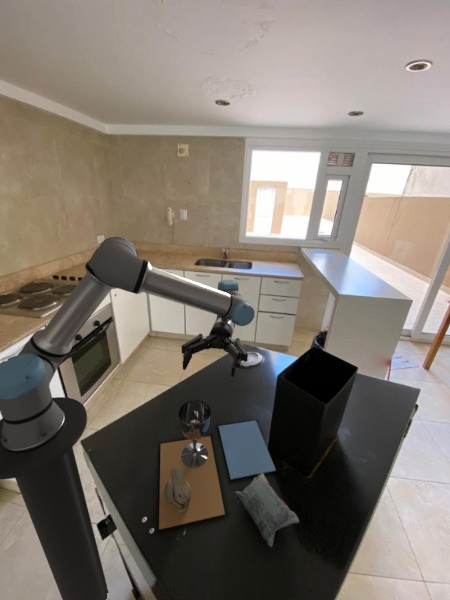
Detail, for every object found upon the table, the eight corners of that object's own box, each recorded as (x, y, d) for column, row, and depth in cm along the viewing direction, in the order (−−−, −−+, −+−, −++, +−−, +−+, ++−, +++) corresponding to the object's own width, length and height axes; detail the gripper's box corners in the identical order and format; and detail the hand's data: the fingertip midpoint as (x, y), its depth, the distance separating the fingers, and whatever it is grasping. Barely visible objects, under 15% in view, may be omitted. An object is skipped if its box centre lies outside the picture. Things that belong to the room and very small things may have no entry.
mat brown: (160, 444, 70) (160, 443, 70) (210, 436, 73) (210, 435, 73) (159, 529, 52) (158, 528, 52) (224, 514, 55) (224, 513, 55)
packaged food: (261, 478, 63) (263, 464, 61) (298, 526, 54) (301, 512, 52) (233, 498, 58) (234, 484, 57) (268, 555, 49) (270, 541, 47)
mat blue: (218, 426, 77) (218, 426, 77) (255, 421, 79) (255, 420, 79) (230, 479, 62) (230, 479, 62) (275, 470, 65) (276, 470, 65)
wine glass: (184, 473, 63) (182, 429, 57) (176, 446, 70) (175, 404, 64) (213, 462, 66) (215, 419, 60) (204, 438, 73) (204, 396, 67)
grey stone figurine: (166, 522, 53) (164, 491, 50) (163, 484, 60) (161, 455, 57) (192, 514, 55) (192, 483, 51) (187, 478, 62) (186, 449, 58)
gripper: (256, 345, 88) (252, 386, 68) (187, 337, 91) (165, 374, 72) (258, 326, 85) (255, 363, 65) (187, 318, 88) (163, 351, 69)
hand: (208, 369), depth 68 cm, fingers open, 13 cm apart
